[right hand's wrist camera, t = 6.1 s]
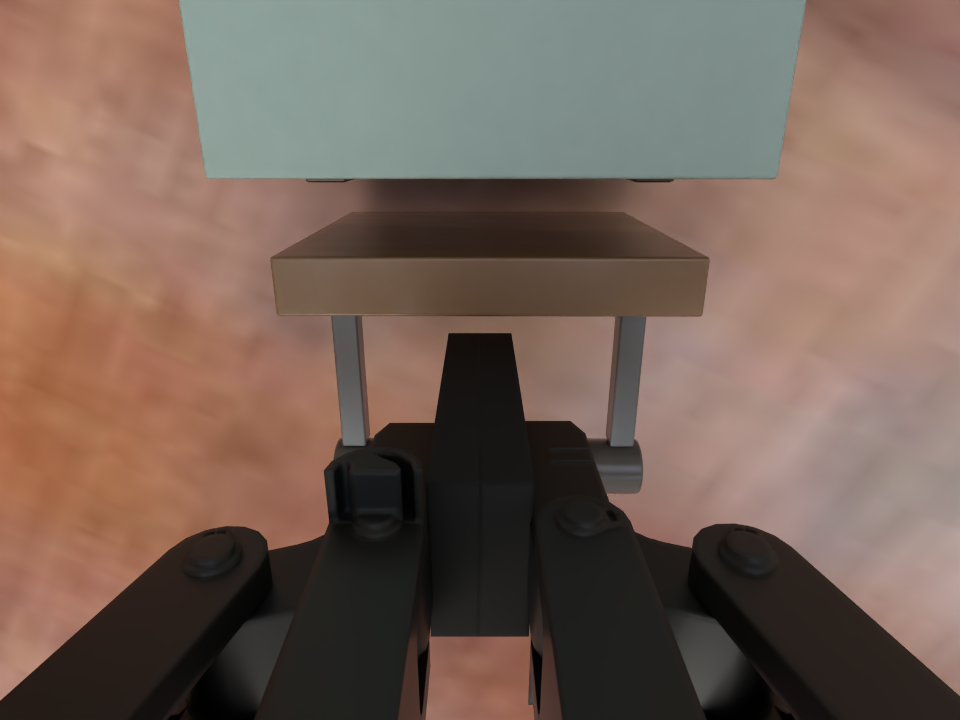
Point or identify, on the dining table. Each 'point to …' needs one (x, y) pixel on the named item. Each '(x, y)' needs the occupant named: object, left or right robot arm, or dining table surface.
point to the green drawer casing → (491, 88)
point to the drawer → (494, 292)
